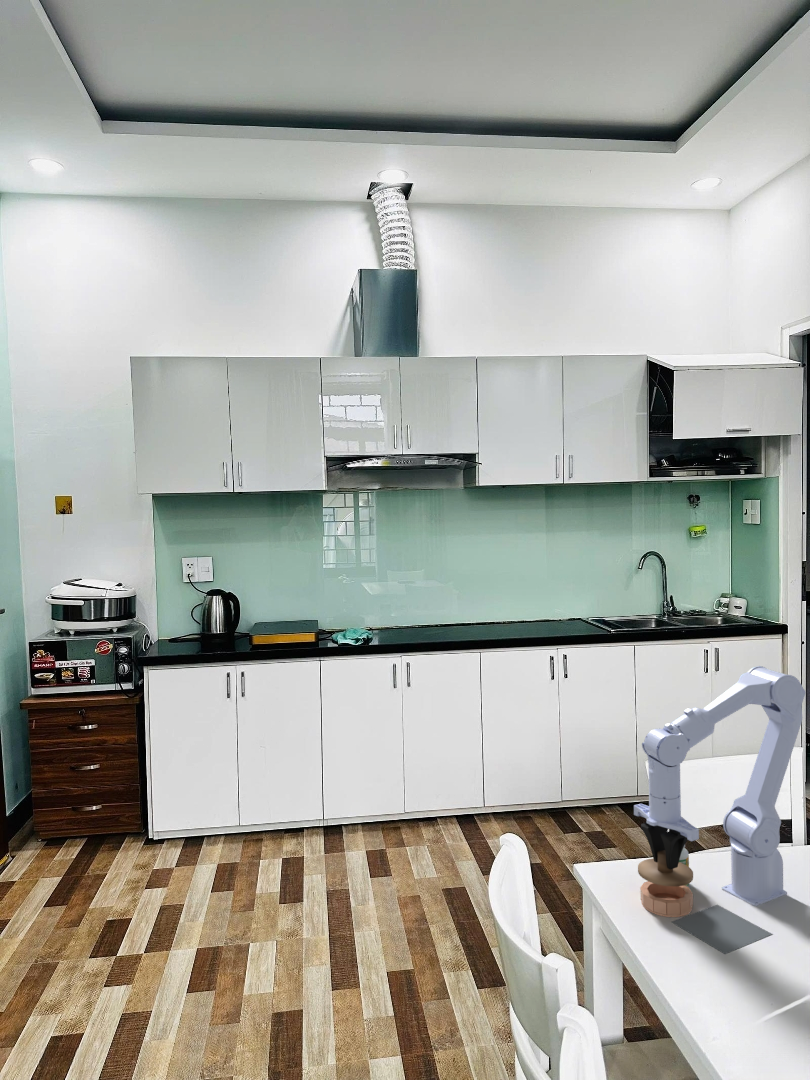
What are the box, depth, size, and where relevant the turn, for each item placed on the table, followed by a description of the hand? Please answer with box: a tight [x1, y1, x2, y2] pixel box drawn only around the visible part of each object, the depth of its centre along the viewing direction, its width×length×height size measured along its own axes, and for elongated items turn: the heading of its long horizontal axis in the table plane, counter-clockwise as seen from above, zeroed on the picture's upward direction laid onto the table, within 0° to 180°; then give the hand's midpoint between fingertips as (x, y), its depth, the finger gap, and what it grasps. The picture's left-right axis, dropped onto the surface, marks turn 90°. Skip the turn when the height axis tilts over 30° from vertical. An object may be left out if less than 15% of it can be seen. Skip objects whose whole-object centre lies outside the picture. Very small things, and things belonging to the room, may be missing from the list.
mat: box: [671, 904, 773, 955], centre depth 142 cm, size 12×12×1 cm
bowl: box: [639, 880, 694, 918], centre depth 151 cm, size 9×9×3 cm
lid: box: [637, 850, 694, 886], centre depth 151 cm, size 10×10×4 cm
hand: (665, 864), depth 151 cm, fingers closed on lid, 3 cm apart
